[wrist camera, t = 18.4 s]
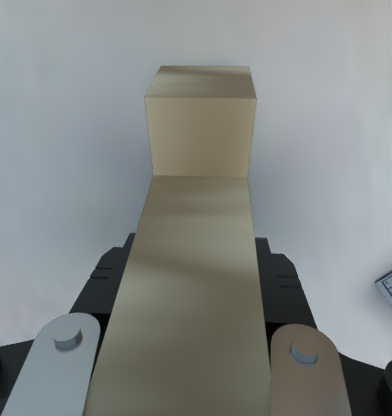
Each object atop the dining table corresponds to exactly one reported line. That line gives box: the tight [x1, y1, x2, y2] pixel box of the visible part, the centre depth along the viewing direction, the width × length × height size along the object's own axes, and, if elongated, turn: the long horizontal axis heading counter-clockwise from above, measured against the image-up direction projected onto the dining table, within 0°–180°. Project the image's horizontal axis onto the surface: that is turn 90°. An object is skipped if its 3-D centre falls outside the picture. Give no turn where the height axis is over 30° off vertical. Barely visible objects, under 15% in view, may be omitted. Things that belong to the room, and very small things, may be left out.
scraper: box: [85, 66, 271, 416], centre depth 9 cm, size 3×8×11 cm, turn 0°
